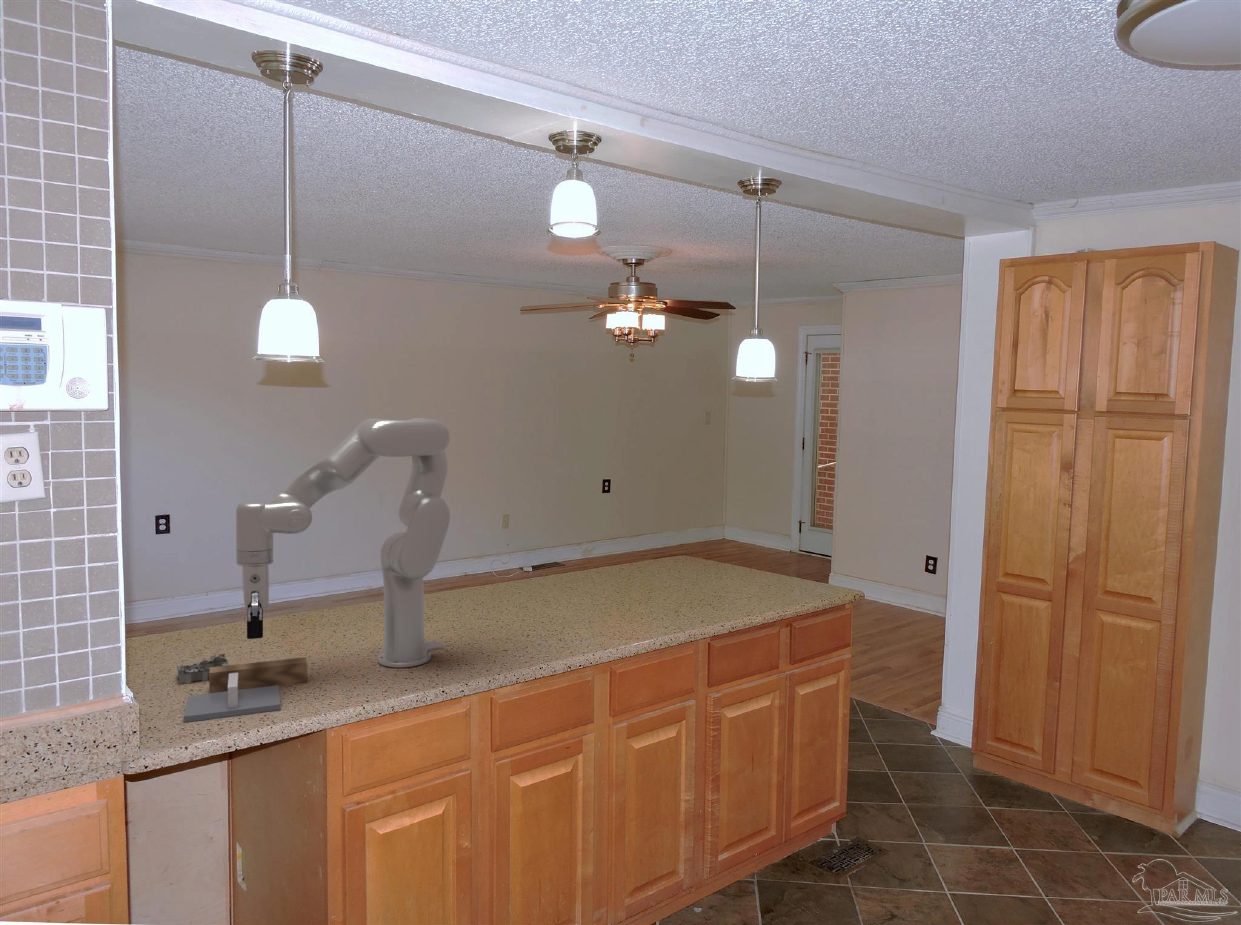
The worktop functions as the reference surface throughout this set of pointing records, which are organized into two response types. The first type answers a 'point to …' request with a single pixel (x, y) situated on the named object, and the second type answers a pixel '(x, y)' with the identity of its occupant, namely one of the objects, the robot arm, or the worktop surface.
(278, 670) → the beam
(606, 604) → the worktop surface
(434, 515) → the robot arm
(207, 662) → the egg carton
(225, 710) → the fulcrum board
